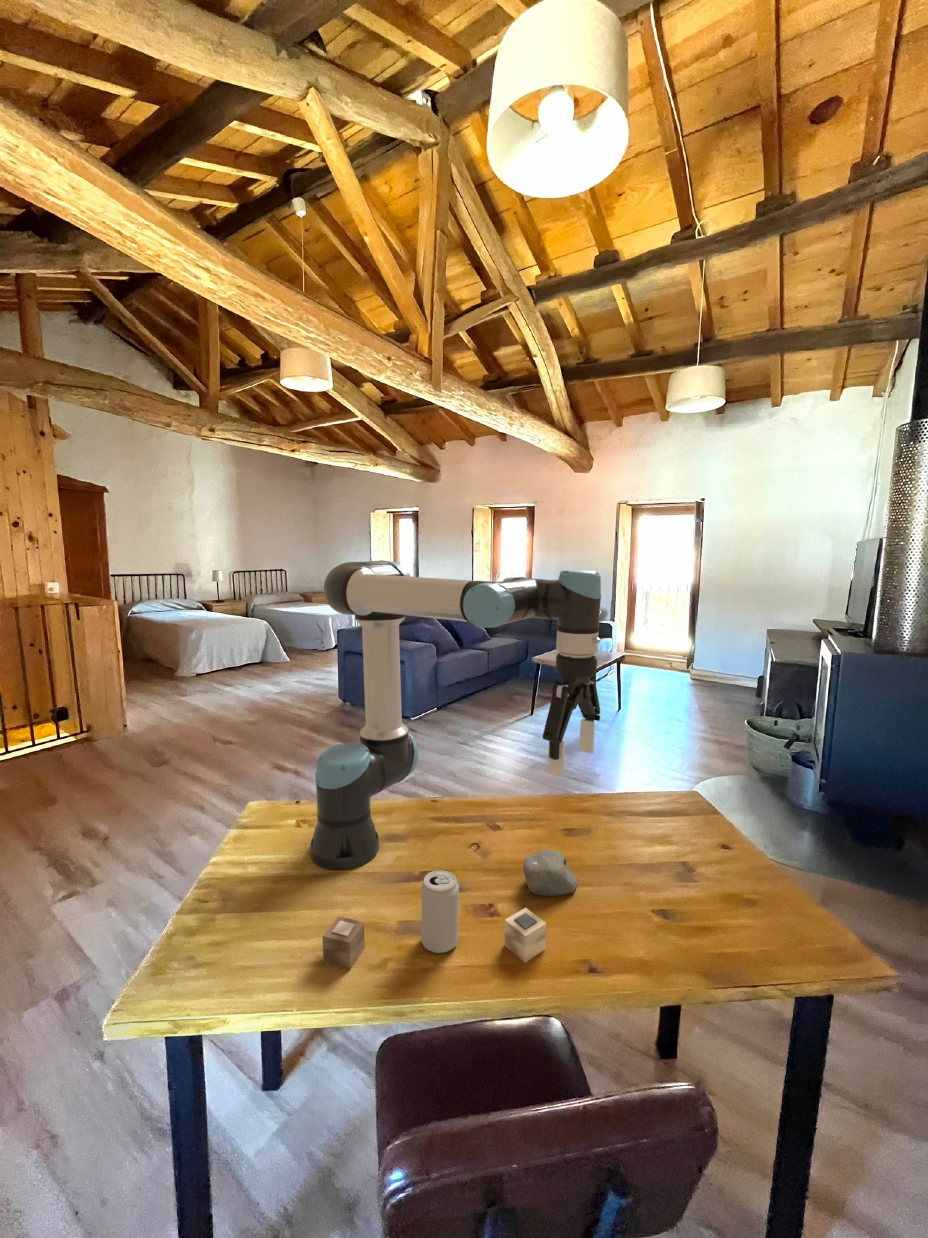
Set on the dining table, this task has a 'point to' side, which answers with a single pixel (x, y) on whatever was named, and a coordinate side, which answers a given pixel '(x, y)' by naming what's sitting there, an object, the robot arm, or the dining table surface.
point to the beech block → (525, 934)
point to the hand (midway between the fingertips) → (571, 762)
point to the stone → (549, 874)
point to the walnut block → (343, 942)
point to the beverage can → (440, 911)
